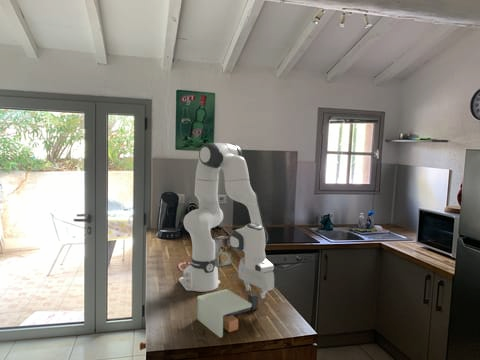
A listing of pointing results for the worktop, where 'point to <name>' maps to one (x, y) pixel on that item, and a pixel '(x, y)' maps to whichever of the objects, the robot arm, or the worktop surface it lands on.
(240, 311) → the hook tool
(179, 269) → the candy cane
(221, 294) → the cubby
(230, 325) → the cube
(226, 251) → the coffee box
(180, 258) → the worktop surface
